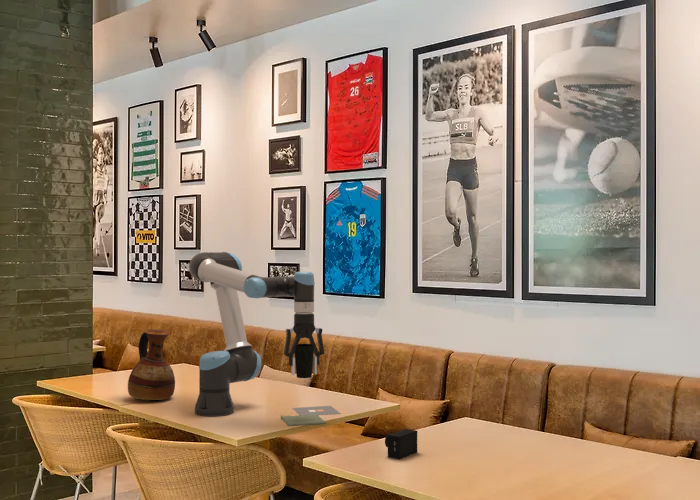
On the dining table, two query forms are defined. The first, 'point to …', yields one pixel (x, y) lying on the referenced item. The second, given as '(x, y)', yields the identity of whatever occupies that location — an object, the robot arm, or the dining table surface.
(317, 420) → the mat
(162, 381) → the ceramic pitcher
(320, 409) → the tile
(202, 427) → the dining table surface
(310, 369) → the cup
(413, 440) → the digital camera
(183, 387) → the dining table surface
